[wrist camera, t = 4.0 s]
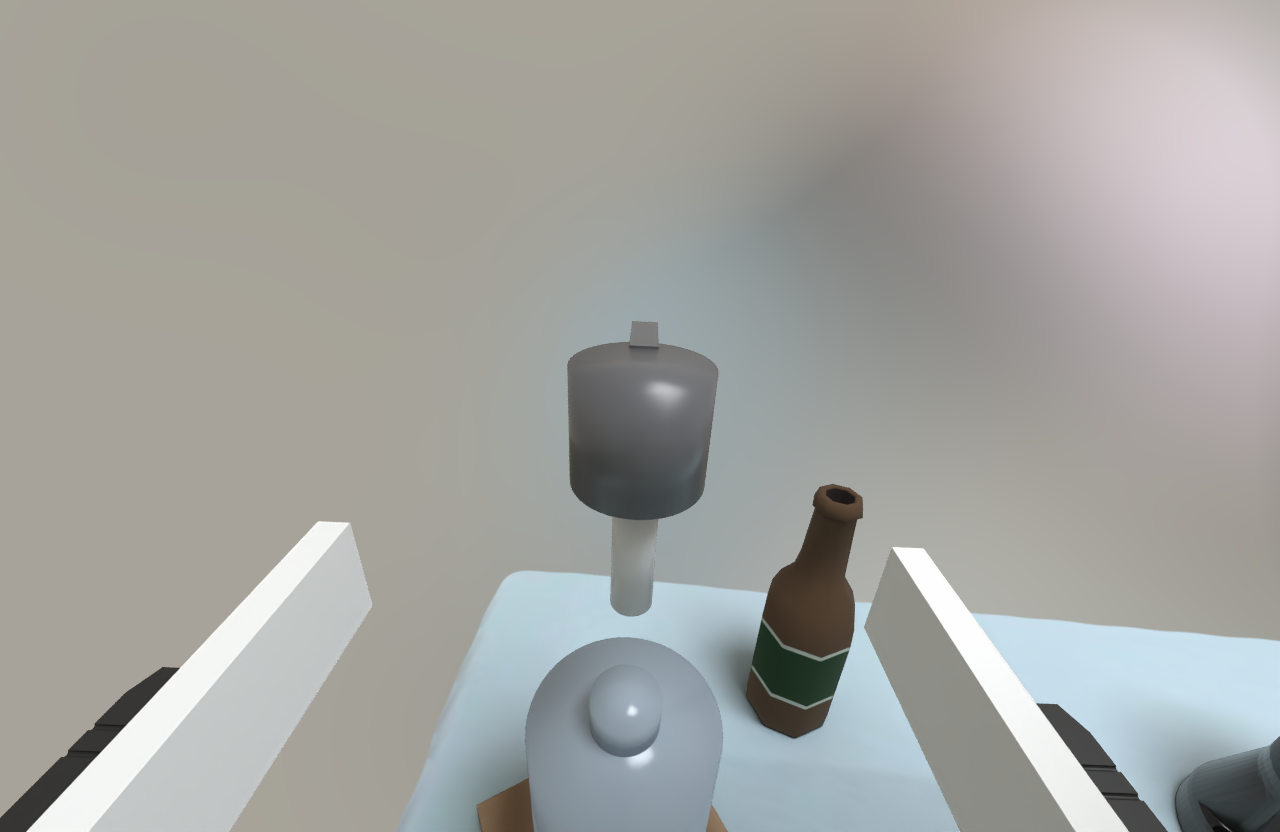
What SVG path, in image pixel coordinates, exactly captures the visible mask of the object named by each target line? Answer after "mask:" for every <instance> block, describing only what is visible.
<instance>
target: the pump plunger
mask: <svg viewBox="0 0 1280 832" xmlns="http://www.w3.org/2000/svg"><path fill="white" fill-rule="evenodd" d="M567 366H568V413H569V458H570V459H569V462H570V485H571V488H572V490H573V492H574V493H575V495H576V496H577V497H578V499H579V500H580V501H582V502H583V503H584V504H585V505H587V506H588V507H590V508H592V509H594V510H596V511H598V512H600V513H603V514H606V515H609V516H612V558H611V594H610V602H611V605H612V607H613V608H614V610H615V611H617V612H618V613H620V614H622V615H625V616H639V615H641V614H644V613H645V612H646V611H648V609H649V608H650V606H651V604H652V592H653V578H654V566H655V553H656V540H657V527H658V519H660V518H666V517H669V516H673V515H676V514H678V513H681V512H683V511H685V510H687V509H688V508H690V507H691V506H693V505H694V504H695V503H696V502H697V501H698V500H699V498H700V497H701V495H702V493H703V490H704V485H705V477H706V469H707V461H708V452H709V445H710V437H711V429H712V421H713V413H714V405H715V396H716V388H717V380H718V368H717V366H716V365H715V364H714V363H713V362H712V361H711V360H710V359H708V358H706V357H705V356H703V355H701V354H699V353H696V352H694V351H691V350H688V349H684V348H680V347H676V346H671V345H665V344H658V323H656V322H637V321H632V329H631V336H630V342H620V343H610V344H603V345H599V346H594V347H591V348H587V349H585V350H582V351H580V352H578V353H576V354H575V355H574V356H573V357H571V358H570V360H569V361H568V365H567Z"/></svg>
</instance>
